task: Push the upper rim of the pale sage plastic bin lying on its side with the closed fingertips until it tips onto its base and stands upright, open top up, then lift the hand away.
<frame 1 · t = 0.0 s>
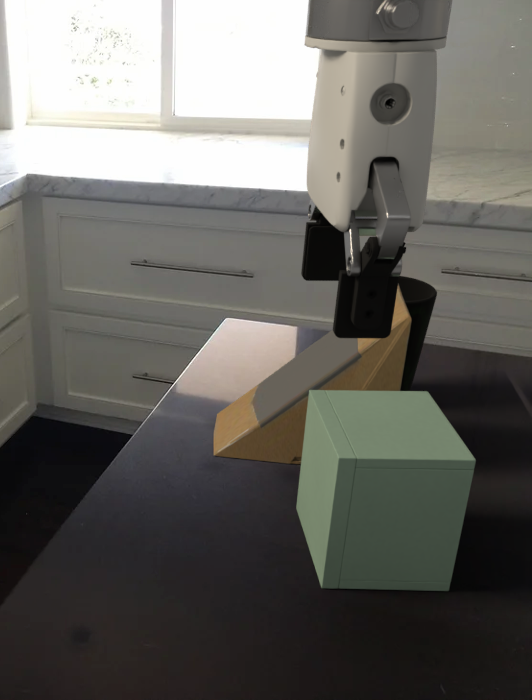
hand: (341, 305, 55), 21 cm above the table, tool pointing down, fingers open, 9 cm apart
bin: (367, 546, 67), on the table
sandwich container: (295, 442, 81), on the table
cup: (378, 399, 89), on the table
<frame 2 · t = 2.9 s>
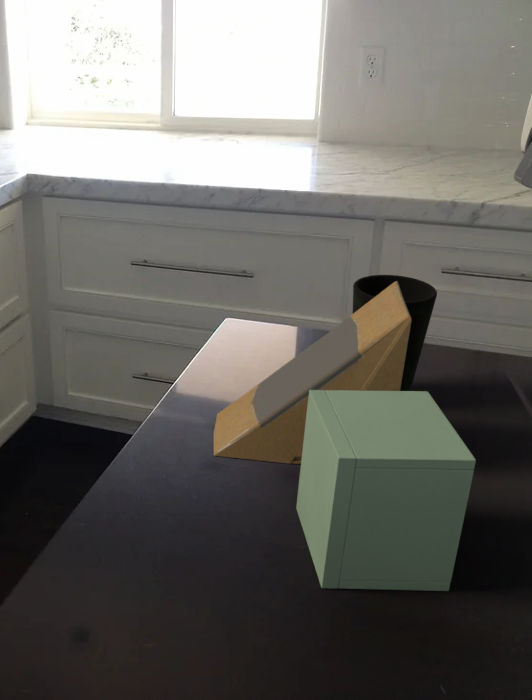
nothing on the table moved.
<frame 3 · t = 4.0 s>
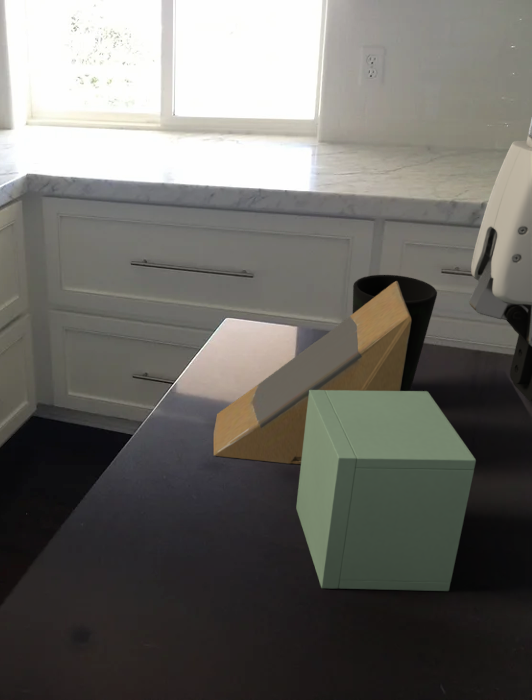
nothing on the table moved.
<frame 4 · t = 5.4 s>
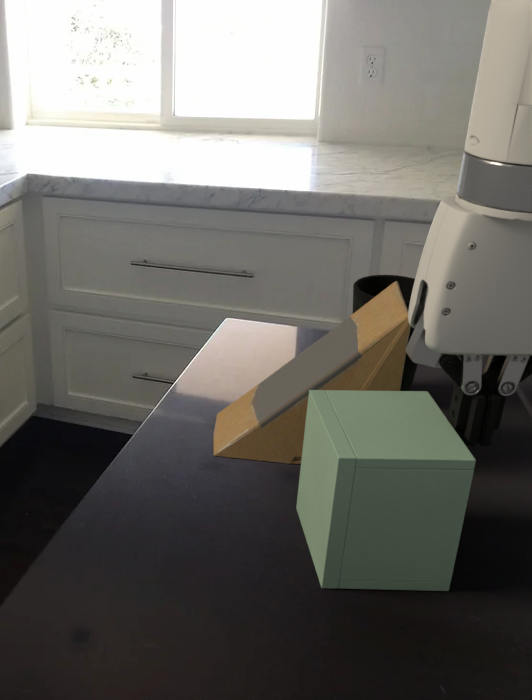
hand: (470, 435, 62), 10 cm above the table, tool pointing down, fingers closed
bin: (367, 546, 67), on the table, touching gripper
everything else where it was.
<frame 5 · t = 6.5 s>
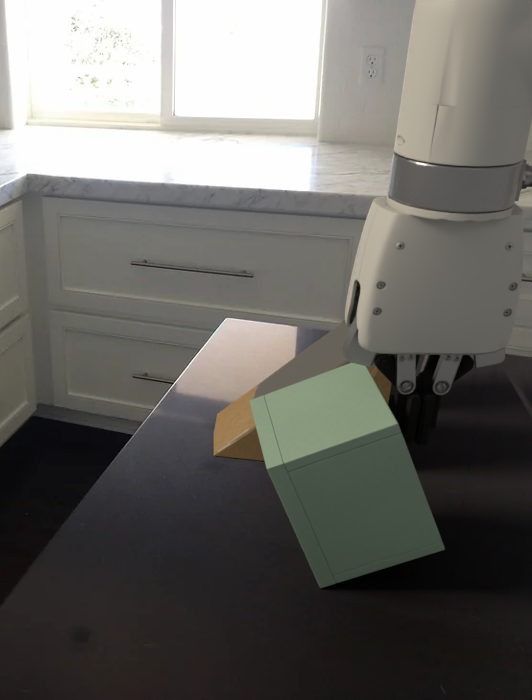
hand: (408, 434, 62), 10 cm above the table, tool pointing down, fingers closed
bin: (364, 527, 66), point 2 cm above the table, tilted 25°, touching gripper
everything else where it was.
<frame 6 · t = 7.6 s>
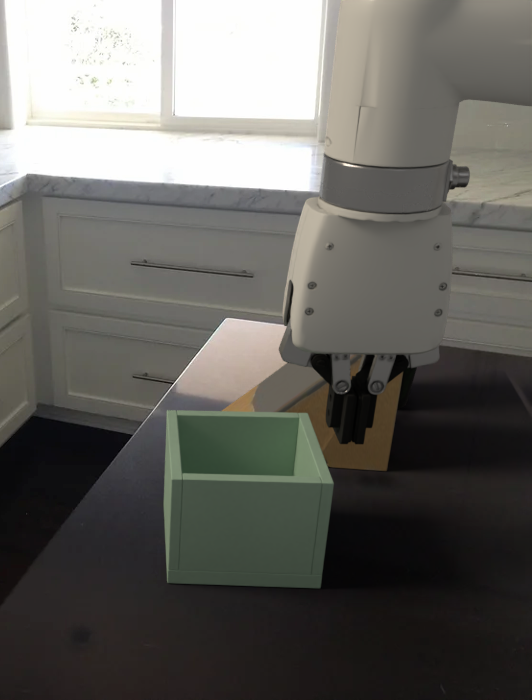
hand: (346, 434, 63), 10 cm above the table, tool pointing down, fingers closed
bin: (314, 497, 65), point 5 cm above the table, tilted 90°
everything else where it was.
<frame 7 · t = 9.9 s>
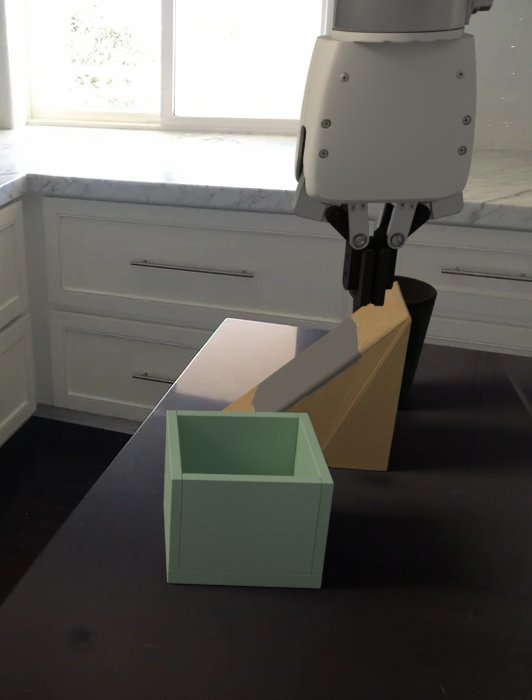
hand: (365, 298, 59), 20 cm above the table, tool pointing down, fingers closed
nothing on the table moved.
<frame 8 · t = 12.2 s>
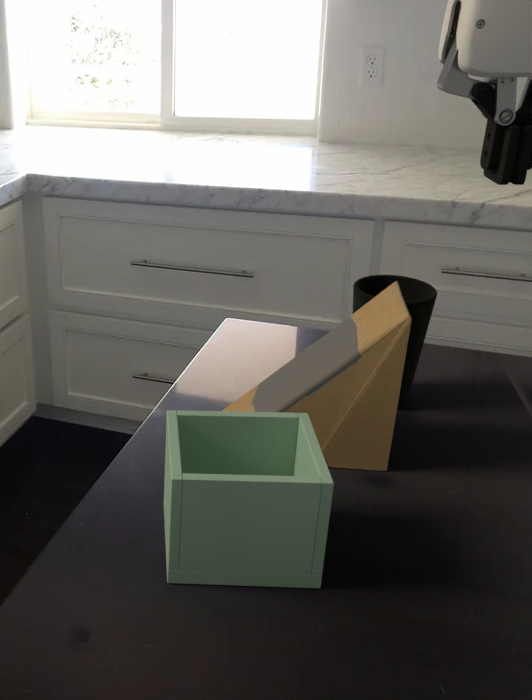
hand: (503, 179, 60), 27 cm above the table, tool pointing down, fingers closed
nothing on the table moved.
at the end: bin 0.2 cm from the target spot, point 4.5 cm above the table; bin tilted 90° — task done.
